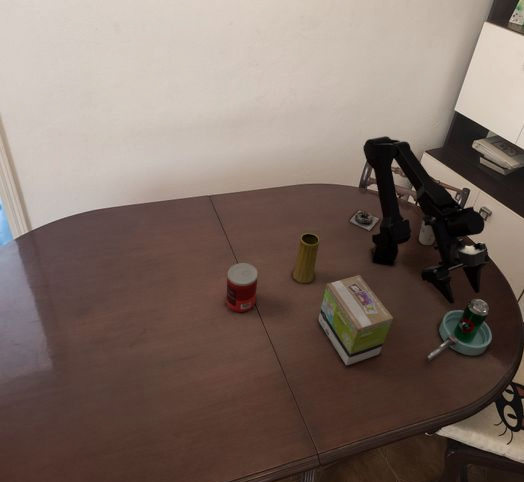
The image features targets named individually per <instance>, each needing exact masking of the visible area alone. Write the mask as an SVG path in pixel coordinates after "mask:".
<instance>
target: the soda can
mask: <svg viewBox="0 0 524 482" xmlns="http://www.w3.org/2000/svg"><path fill="white" fill-rule="evenodd" d="M489 309H490V308H489V305H488V303H487V302H486V301H484V300H482V299H479V298H473V299H471V300H470V301H468V303H467V304H466V307H465V308H464V310H463V311H464V312H463V314H462V316H461V318H460V320H459V322H458V323H457V325H456V327H455V329H454V334H455V336H456V337H457V339H459V340H460V341H462V342H471V341H473V339H474V338H475V336H476V334H477V332H478V331H479V329H480V327H481V325H482V324H483V322H485V321H486V319H487V317H488V315H489V314H490V313H489V312H490V310H489Z"/></svg>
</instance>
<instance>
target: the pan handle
mask: <svg viewBox="0 0 524 482" xmlns="http://www.w3.org/2000/svg"><path fill="white" fill-rule="evenodd" d="M457 342H458V340H457V339H456V338H455V337H453V336H452V335H451V334H450V335H449V336H448V337H447V339H446V341H443V342H442V343H441V344H440V345H439V346H437V347H436V348H434V349H433V350H432V351H430V352H429V353H428V354H427V355H426V356H425V359H426V361H428V362H429V361H433V360H434V359H435V358H436V357H437V356H438V355H440V354H441V353H443V352H444V351H445V350H446V349H448V348H450V345H452V346H455V345H456V344H457Z"/></svg>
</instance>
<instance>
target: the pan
mask: <svg viewBox="0 0 524 482" xmlns="http://www.w3.org/2000/svg"><path fill="white" fill-rule="evenodd" d="M463 312H464V310H461V309H457V310H456V309H454V310H450V311H448V312H447V313H445V315H444V316H443V317H442V320H441V322H440V324H439V327H438V328H439V335H440V337H441V339H442V340H443V342H445V341H446V339H447V337H448V336H449V335H450V334H451V335H452V336H453V337H455V338H456V339H457V337H456V336H455V334H454V329H455V327H456V325H457V323H458V322H459V320H460V318H461V316H462V314H463ZM492 334H493V333H492V331H491V328H490V327H489V325H488V324H487V323H486V322H485V321H484V322H483V324H482V325H481V327H480V329H479V331H478V332H477V334H476V336H475V338H474V339H473V341H471V342H462V341H460V340H459V339H457V340H458V342H457V344H456V345H455V346H452V345H450V346H449V348H450V349H452V350H454V351H456V352H458V353H460V354H462V355H466V356H479V355H481V354H483V353H485V351H486V350H487V349H488V347H489V345H490V343H491V342H492V339H493V338H492V337H493V335H492Z"/></svg>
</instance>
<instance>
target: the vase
mask: <svg viewBox="0 0 524 482" xmlns="http://www.w3.org/2000/svg"><path fill="white" fill-rule="evenodd" d="M319 245H320V238H319V236H318V235H316V234H315V233H311V232H307V233H302V234H301V235H300V239H299V245H298V248H297V254H296V261H295V266H294V270H293V272H292V277H293V279H294V280H295V281H296V282H298V283H301V284H308V283H311V282H312V281H313V280H314V278H315V277H314V273H315V267H316V260H317V256H318V255H317V254H318V250H319Z"/></svg>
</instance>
